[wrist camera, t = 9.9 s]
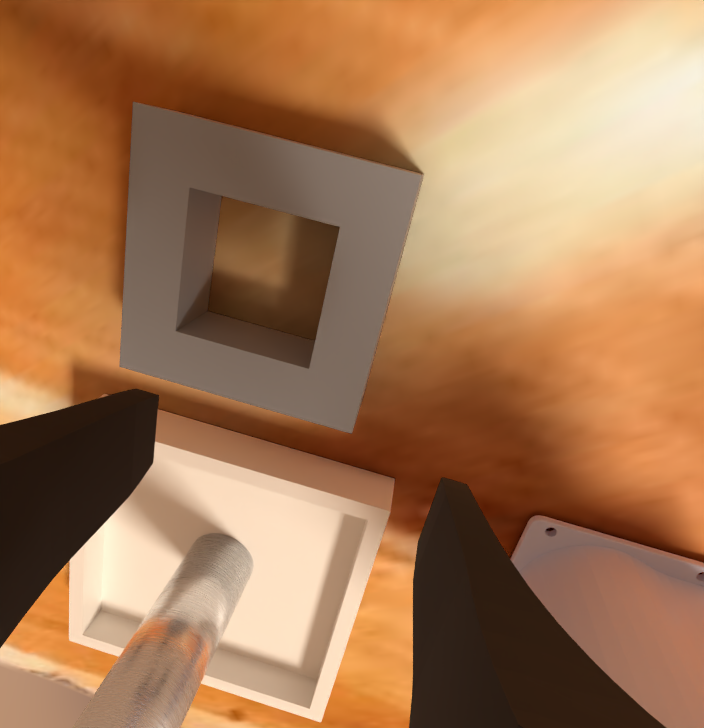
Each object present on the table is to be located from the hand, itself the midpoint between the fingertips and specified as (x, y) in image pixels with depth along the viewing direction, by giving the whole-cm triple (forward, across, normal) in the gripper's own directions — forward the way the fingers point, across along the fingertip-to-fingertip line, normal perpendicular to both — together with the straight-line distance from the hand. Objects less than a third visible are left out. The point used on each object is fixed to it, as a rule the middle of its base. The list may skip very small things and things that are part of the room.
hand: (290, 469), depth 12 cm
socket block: (+10, +4, -2) cm, 11 cm away
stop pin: (+10, +4, +14) cm, 17 cm away
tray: (+10, +4, +14) cm, 18 cm away
